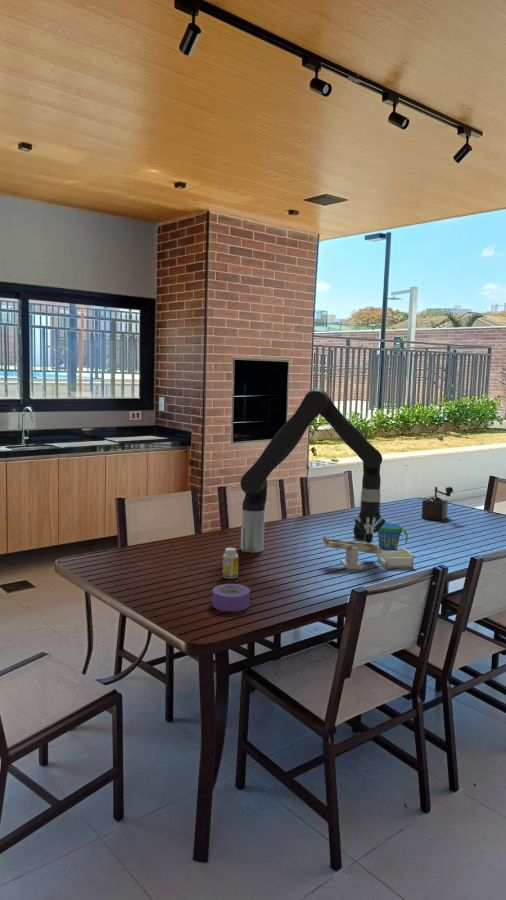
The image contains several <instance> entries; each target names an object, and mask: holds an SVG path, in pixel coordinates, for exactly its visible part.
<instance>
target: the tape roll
mask: <svg viewBox="0 0 506 900" xmlns="http://www.w3.org/2000/svg"><path fill="white" fill-rule="evenodd" d="M250 597H251V590H250V588H249V587H248V586H246V585H243V584H240V583H239V584H238V583H225V584H219V585H217V586H214V587H213V588H212V607H213V608H215V609H217V610H219V611H223V612H240V611H243V610H246V609H248V608H249V607H250V604H251V603H250V602H251V598H250Z"/></svg>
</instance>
